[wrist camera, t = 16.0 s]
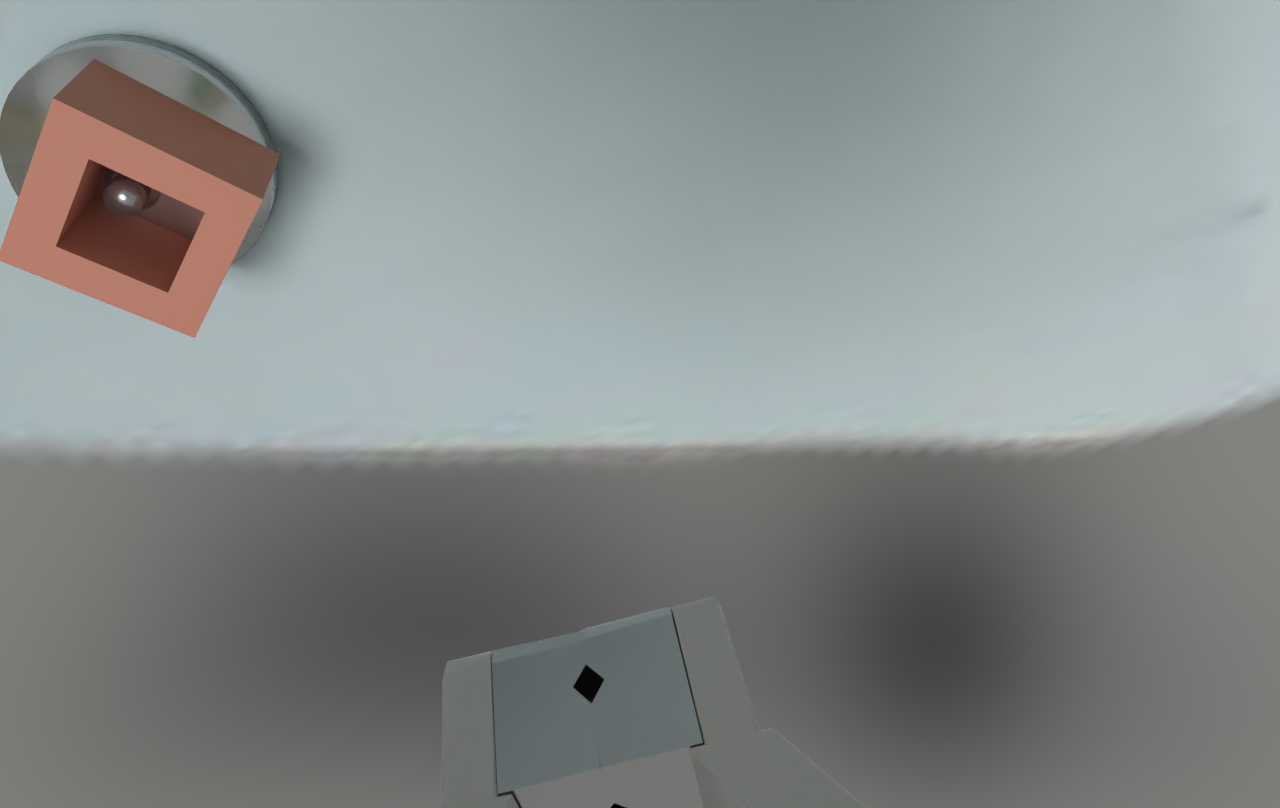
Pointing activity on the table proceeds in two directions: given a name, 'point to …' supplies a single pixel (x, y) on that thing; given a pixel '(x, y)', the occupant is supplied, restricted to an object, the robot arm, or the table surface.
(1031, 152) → the table surface
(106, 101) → the brown square ring block
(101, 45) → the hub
